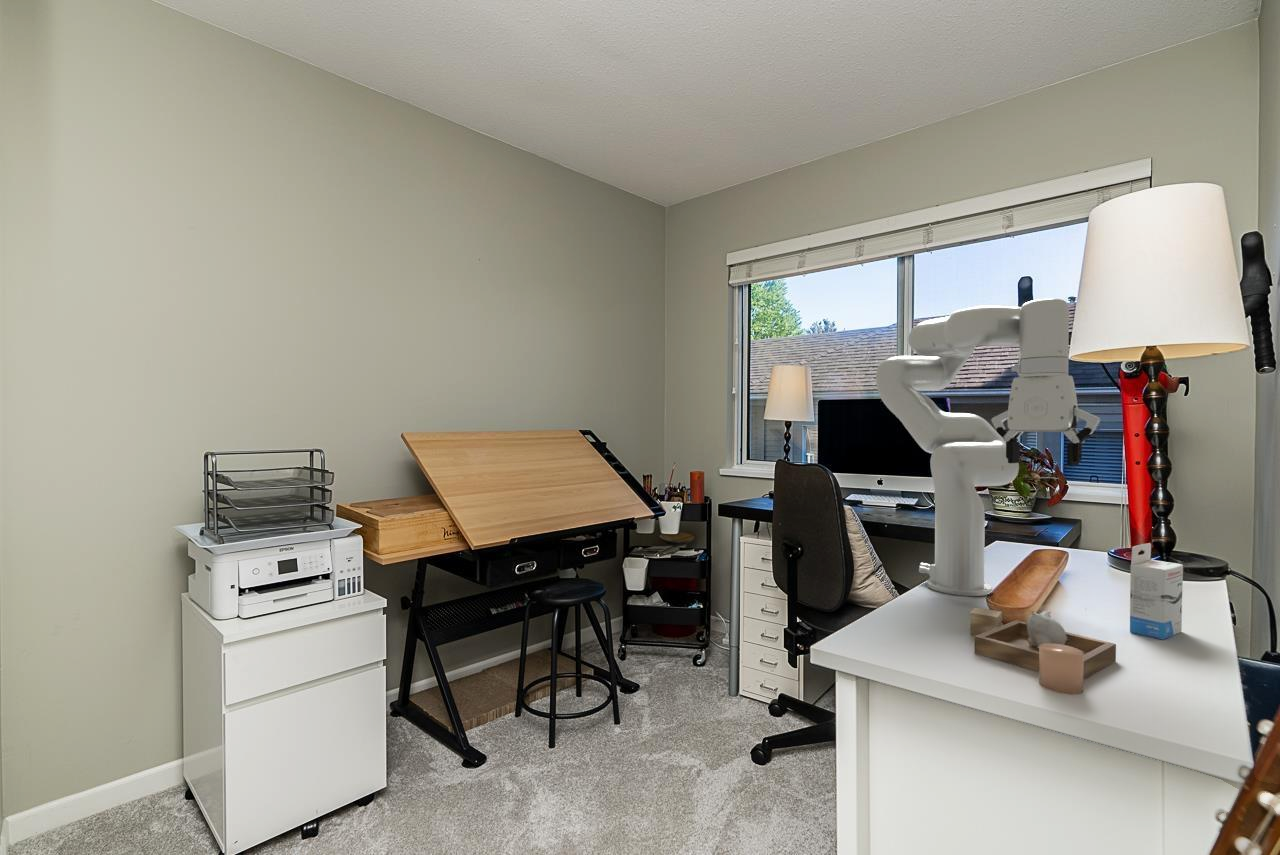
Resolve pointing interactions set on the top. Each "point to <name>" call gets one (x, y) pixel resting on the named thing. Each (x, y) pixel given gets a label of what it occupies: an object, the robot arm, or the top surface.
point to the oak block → (984, 620)
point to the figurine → (1044, 630)
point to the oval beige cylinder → (1061, 668)
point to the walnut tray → (1016, 650)
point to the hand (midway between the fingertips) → (1042, 464)
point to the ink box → (1155, 595)
